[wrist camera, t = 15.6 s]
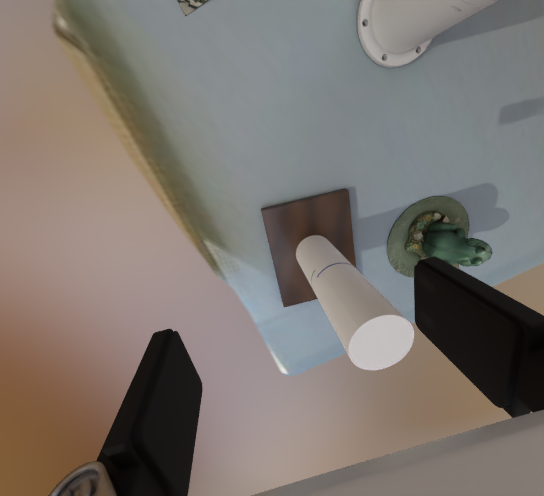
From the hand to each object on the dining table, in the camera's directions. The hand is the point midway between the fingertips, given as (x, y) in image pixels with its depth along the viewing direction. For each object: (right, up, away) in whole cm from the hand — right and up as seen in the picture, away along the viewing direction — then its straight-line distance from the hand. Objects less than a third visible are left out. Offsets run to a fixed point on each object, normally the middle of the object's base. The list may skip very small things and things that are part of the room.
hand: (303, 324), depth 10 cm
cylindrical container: (+7, +2, +40) cm, 41 cm away
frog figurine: (+31, +5, +44) cm, 54 cm away
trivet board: (+7, +2, +41) cm, 42 cm away
